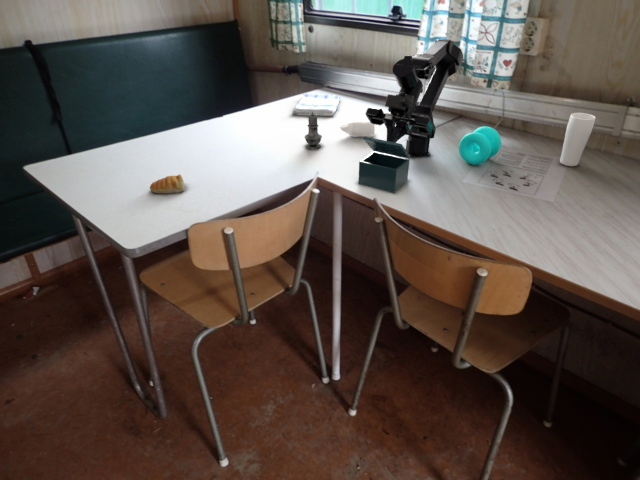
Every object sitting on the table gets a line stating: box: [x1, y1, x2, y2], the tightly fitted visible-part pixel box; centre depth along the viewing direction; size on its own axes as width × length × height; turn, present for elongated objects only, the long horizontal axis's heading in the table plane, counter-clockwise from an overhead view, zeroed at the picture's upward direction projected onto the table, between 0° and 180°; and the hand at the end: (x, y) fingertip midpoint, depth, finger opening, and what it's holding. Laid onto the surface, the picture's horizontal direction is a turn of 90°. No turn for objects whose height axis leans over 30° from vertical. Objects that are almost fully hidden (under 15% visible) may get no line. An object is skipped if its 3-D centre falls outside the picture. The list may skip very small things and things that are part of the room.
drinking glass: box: [559, 112, 597, 167], centre depth 138 cm, size 7×7×15 cm
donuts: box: [458, 125, 502, 166], centre depth 142 cm, size 10×10×10 cm
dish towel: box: [291, 93, 341, 117], centre depth 193 cm, size 17×24×3 cm
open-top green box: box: [357, 150, 410, 194], centre depth 131 cm, size 9×11×7 cm
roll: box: [339, 119, 375, 138], centre depth 163 cm, size 6×12×6 cm, turn 89°
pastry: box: [149, 173, 185, 195], centre depth 129 cm, size 9×7×4 cm
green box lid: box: [362, 136, 411, 159], centre depth 127 cm, size 9×11×1 cm
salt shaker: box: [304, 112, 323, 150], centre depth 153 cm, size 6×6×12 cm
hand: (388, 147), depth 128 cm, fingers closed
